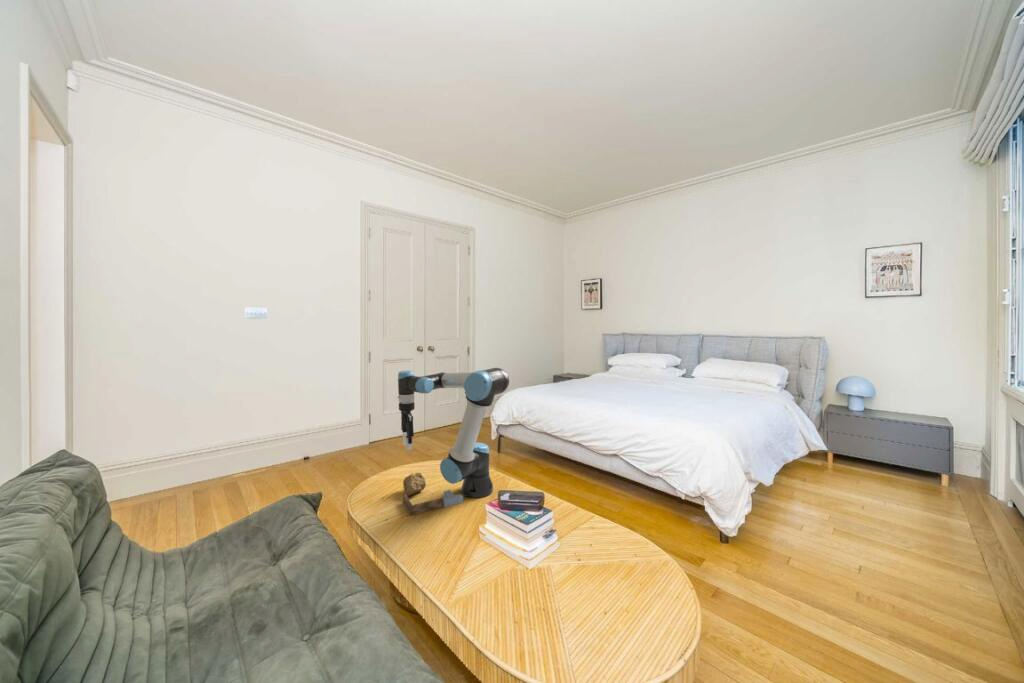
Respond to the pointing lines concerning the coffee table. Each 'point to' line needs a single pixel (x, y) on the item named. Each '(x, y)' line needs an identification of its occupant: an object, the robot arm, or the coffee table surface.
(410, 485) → the rock
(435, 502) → the brown l-shaped block
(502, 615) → the coffee table surface
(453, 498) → the t block
